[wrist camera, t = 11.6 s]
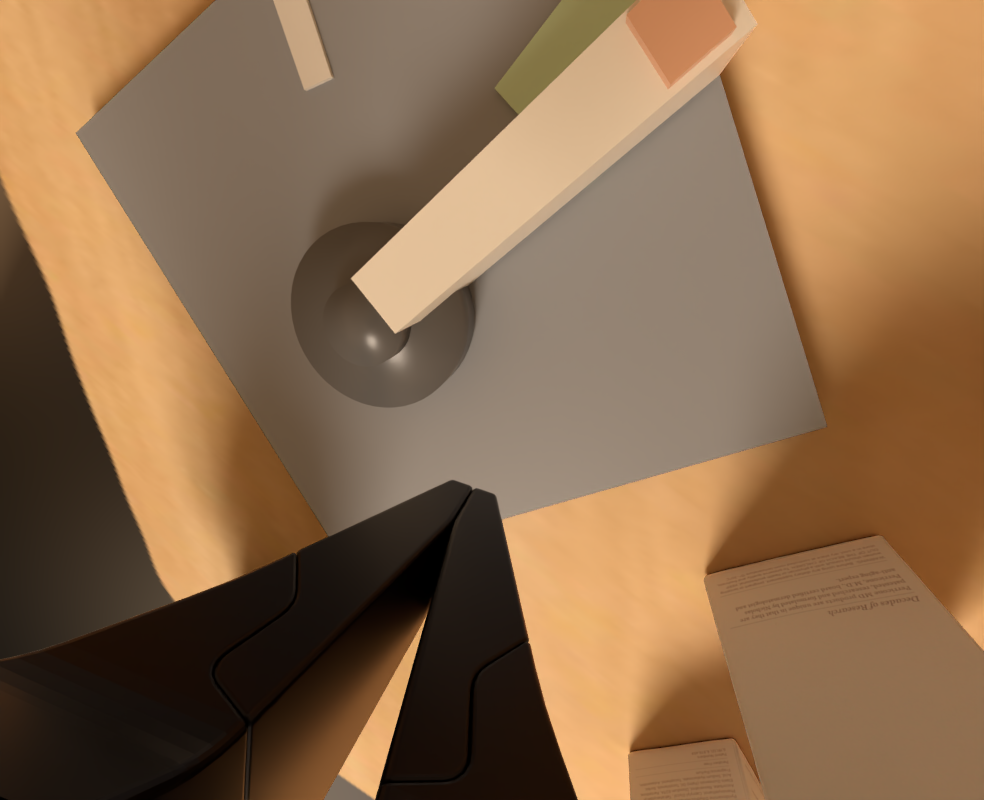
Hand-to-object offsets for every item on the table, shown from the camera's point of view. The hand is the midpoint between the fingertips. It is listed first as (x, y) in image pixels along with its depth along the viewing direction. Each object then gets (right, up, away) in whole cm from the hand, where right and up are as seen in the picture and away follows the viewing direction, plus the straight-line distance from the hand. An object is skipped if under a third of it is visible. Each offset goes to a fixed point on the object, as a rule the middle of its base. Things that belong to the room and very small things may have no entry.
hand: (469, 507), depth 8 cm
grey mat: (-2, +7, +11) cm, 13 cm away
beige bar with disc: (0, +8, +9) cm, 12 cm away
